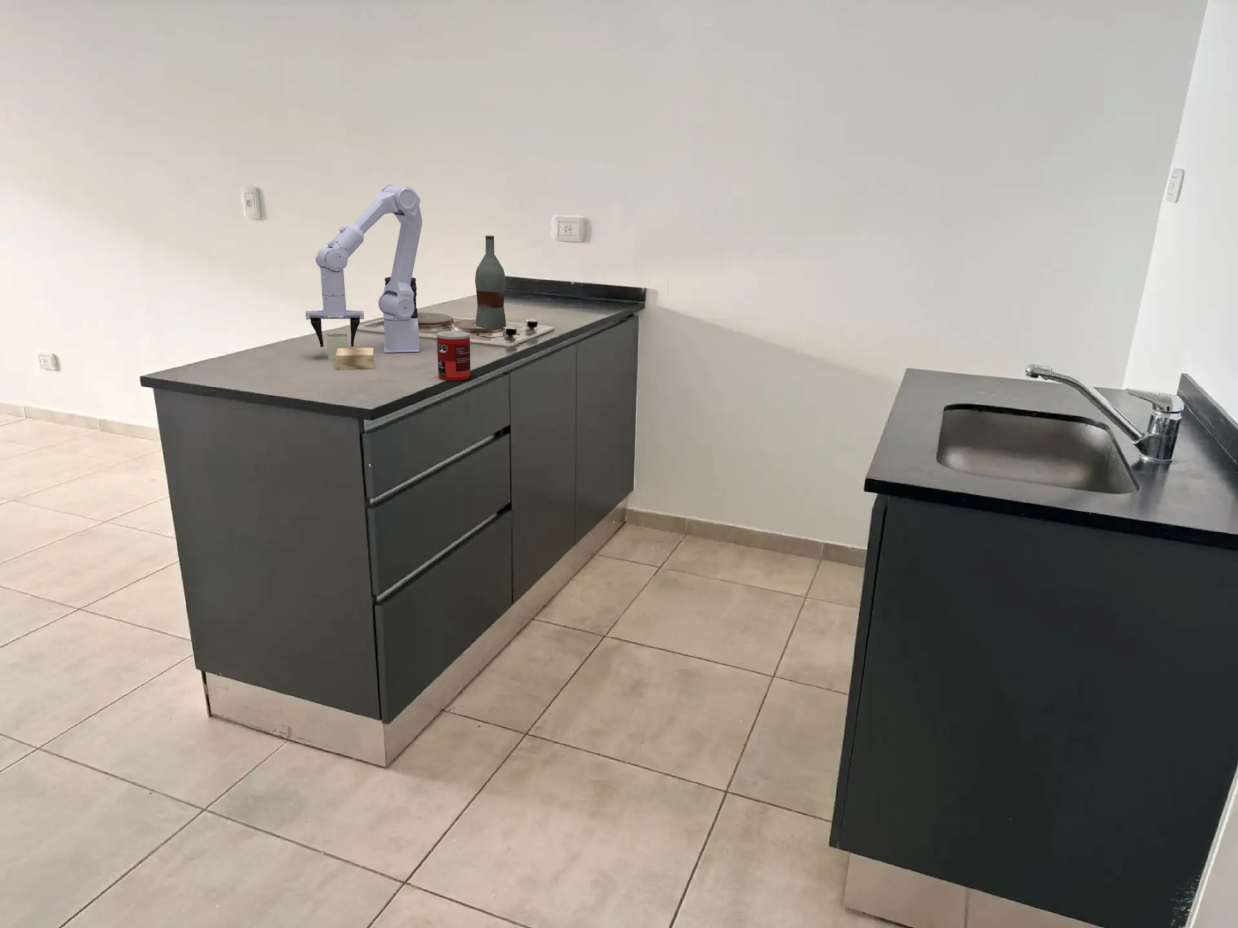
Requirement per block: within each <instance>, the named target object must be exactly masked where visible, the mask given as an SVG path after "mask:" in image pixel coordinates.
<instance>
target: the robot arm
mask: <svg viewBox="0 0 1238 928" xmlns="http://www.w3.org/2000/svg"><path fill="white" fill-rule="evenodd" d="M420 203H421V198H420V196H419V195H418V194H417V192H416V191H415V189H414V188H413V187H411V186H409V185H408V186H406V185H405V186H401V185H399V186H398V185H393V184H387V185H385V186H383V188H382V189H381V191H378V193H376V195H375V197H374V199H373V200H372V201H371V203H370V204H369V205H368V207H366V209H365V210H364V211H363V213H362V214H361V215H360V216H359V217H358V219H357V220H356V221H355V222H354V224H352V225H351V224H350V225H349V224H347V225H345V226H341V227H340V228H339V229H338V231H339V233H337V235H336V236H335V237H334V238H333V239H332V240H329V241H328V242H327V246H325V247H321V248H320V249H319V250H318V252H317V255H316V257H315V258H314V259H315V263H316V265H317V266H318V267H319V270H320V284H321V296H322V310H305V320H307V321H308V320H309V321H310V325H311V326H312V328H313V330H314V332H315V335H316V336H317V339H318V342H319V344H320V345H319V346H320V348H324V346H325V345H324V339H323V330H322V329H323V327H322V320H349V325H350V348H355V347H354V346H355V337H356V334H357V331H358V328H359V325H360V323H361V320H365V312H364V310H349V309H347V303H346V302H347V301H346V300H347V299H346V288H345V287H346V286H345V273H344V271H345V269H346V268H347V266H348V264H349V263H348V262H349V261H348V260H349V258H350V257H351V255H353V254H354V253H355V252H356V250H358V248H359V247H360V246H361V245H362V244H363V242H364V240H365V237H364V236H365V234H366V232H368V231H369V230H370V228H372V226H374V225H375V224H376V223H377V222H378V221H379V220H380V219H381V218H382V217H383V216H384V215H387V214H393V215H394V216H395V217H396V219H397V220H398V222H399V223H400V229H399V233H398V239H397V244H396V247H395V248H396V249H395V255H394V259H393V265H392V269H391V276H390V277H391V280H390V282H389V283H388V284H387V285H386V286H385V285H384V287H383V291H382V293H381V295H380V297H379V299H378V302H377V303H378V308H379V310H380V312H381V313H382V314H383V315H382V316H383V331H384V344H385V345H383V352H384V353H385V354H386V353H387V354H388V353H420V345H421V340H420V338H419V337H420V336H419V320H418V318H417V319H416V318H411V316H412V314H413V312H414V308H415V306H414V301H413V298H414V293H413V291H412V289H411V286H410V284H411V279H412V277H413V273H414V269H415V268H414V267H415V263H416V258H417V252H418V248H419V243H420V237H421V233H422V227H423V217H422V216H423V215H422V213H421V208H420Z"/></svg>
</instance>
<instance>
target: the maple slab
mask: <svg viewBox="0 0 1238 928" xmlns="http://www.w3.org/2000/svg"><path fill="white" fill-rule="evenodd" d="M374 350H375V349H374V347H348V348H337V353H336V360H335V361H336V365H335V366H336V370H337V371H348V370H349V371H351V370H354V369H355V371H356V369H357V370H358V369H360V370H374V369H375V355H374V354H375V352H374Z"/></svg>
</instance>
